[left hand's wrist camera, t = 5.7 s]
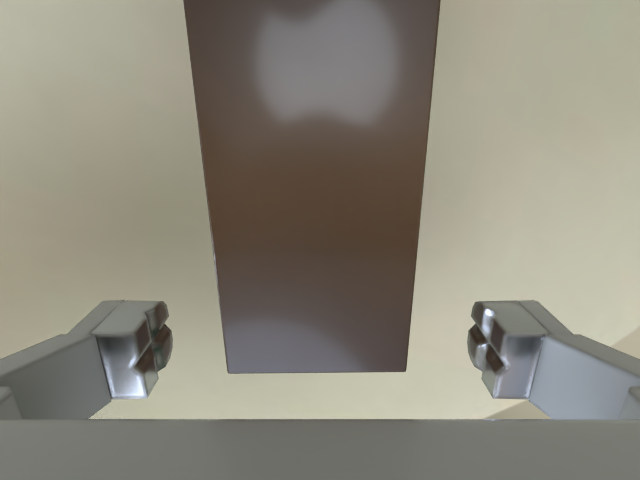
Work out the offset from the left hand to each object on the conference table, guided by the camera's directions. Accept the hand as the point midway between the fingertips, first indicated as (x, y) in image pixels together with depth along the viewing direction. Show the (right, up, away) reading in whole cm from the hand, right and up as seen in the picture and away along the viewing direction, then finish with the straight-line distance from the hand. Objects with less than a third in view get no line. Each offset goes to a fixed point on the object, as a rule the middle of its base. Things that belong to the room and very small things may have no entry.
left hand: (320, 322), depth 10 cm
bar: (0, +12, +7) cm, 14 cm away
